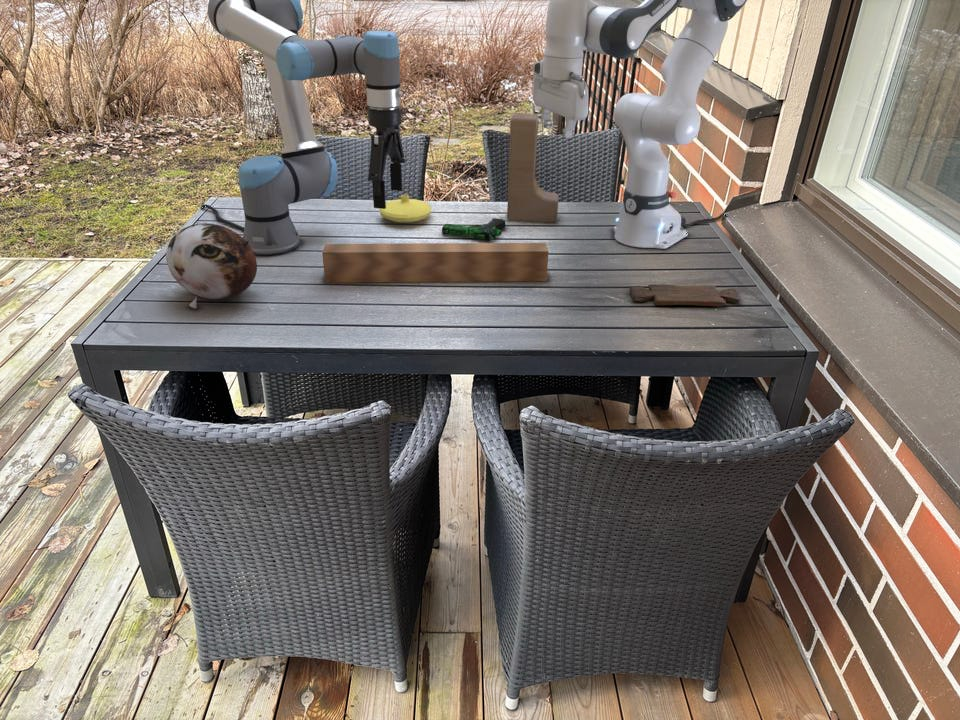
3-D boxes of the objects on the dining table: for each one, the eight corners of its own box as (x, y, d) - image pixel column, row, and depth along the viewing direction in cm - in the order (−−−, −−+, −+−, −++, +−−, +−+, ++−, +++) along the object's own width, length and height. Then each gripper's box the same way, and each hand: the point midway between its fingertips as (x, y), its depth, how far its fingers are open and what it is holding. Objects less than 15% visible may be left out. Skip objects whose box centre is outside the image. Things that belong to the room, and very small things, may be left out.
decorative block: (556, 223, 215) (563, 120, 199) (506, 220, 216) (510, 118, 201) (557, 215, 221) (564, 114, 206) (509, 212, 223) (512, 112, 207)
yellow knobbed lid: (403, 206, 226) (402, 184, 222) (442, 217, 218) (442, 194, 215) (368, 220, 215) (367, 197, 211) (408, 231, 207) (407, 208, 203)
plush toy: (130, 285, 161) (164, 203, 163) (192, 308, 177) (221, 233, 178) (195, 307, 151) (229, 220, 152) (254, 330, 166) (285, 250, 168)
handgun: (511, 219, 210) (493, 234, 198) (511, 228, 211) (492, 244, 199) (461, 212, 215) (440, 226, 203) (461, 221, 217) (440, 236, 204)
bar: (325, 282, 177) (322, 252, 172) (328, 273, 181) (325, 243, 177) (546, 281, 179) (548, 251, 175) (543, 272, 184) (545, 242, 180)
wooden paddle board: (744, 309, 167) (732, 291, 176) (746, 303, 166) (734, 285, 175) (634, 305, 167) (627, 287, 176) (635, 299, 167) (628, 281, 175)
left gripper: (383, 120, 149) (388, 217, 160) (415, 97, 170) (417, 184, 181) (349, 118, 151) (356, 214, 162) (384, 95, 172) (388, 182, 183)
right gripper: (598, 76, 153) (591, 142, 160) (553, 62, 170) (548, 122, 176) (573, 77, 151) (567, 143, 158) (529, 63, 167) (526, 124, 174)
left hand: (388, 198), depth 172 cm, fingers open, 13 cm apart
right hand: (557, 132), depth 167 cm, fingers open, 8 cm apart
